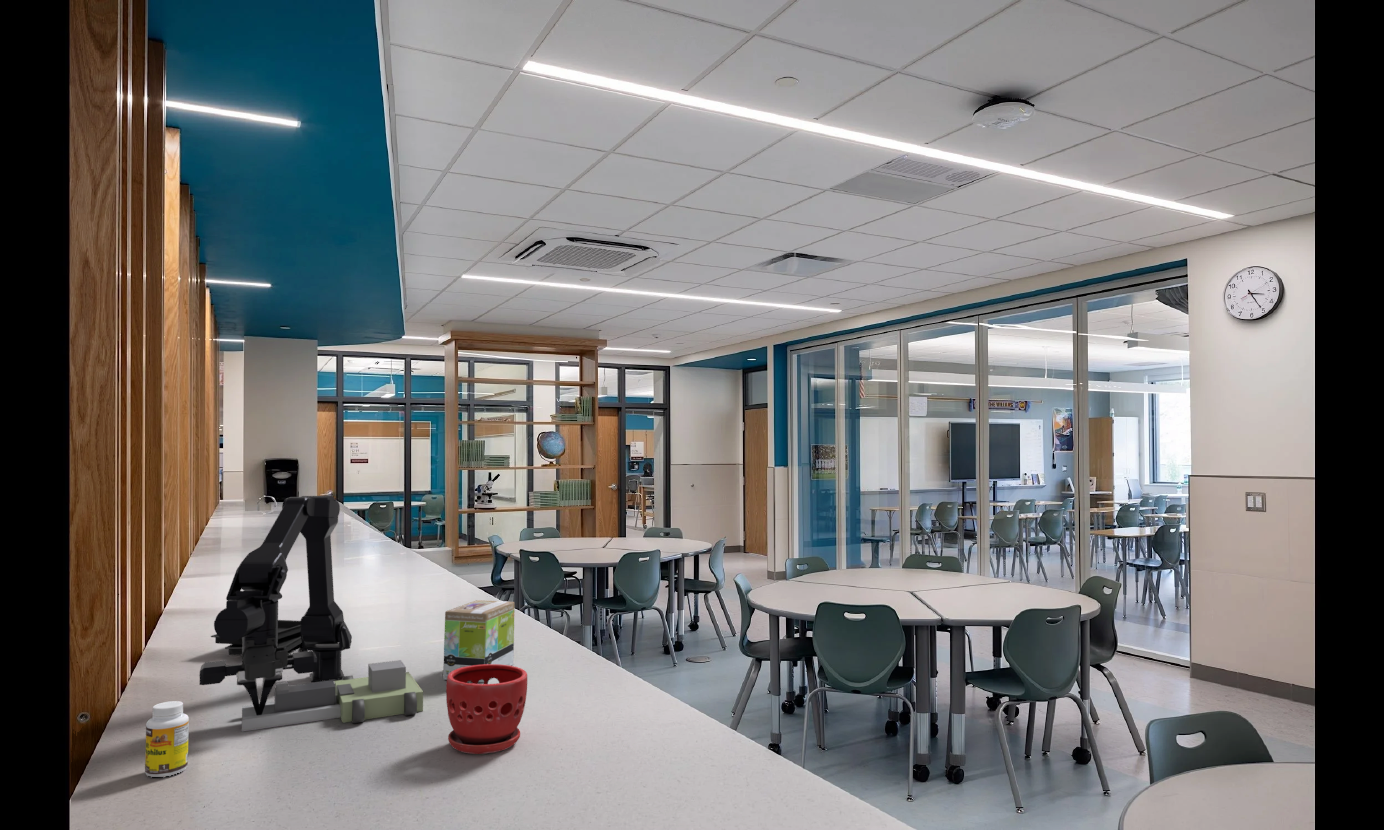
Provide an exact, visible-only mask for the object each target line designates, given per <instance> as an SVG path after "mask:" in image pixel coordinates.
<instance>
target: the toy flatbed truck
mask: <svg viewBox="0 0 1384 830" xmlns="http://www.w3.org/2000/svg"><path fill="white" fill-rule="evenodd" d="M367 668H368V669H367V671H368V672H367V673H368V675H367V676H365V677H364V676H363V677H358V678H356V677H355V678H354V675H353V674H351V675H344V676H343V677H342V679H338V680H334V684H335V687H336V688H335V705H330V706H323V707H316V708H308V709H301V710H294V711H286V712H279V713H274V701H271V702H266V704H265V707H264V710H263V713H262V715H256V712H255V709H254V706H253V704H249V705H242V706H241V732H247V731H255V730H256V731H257V730H261V729H270V728H276V727H283V726H291V725H297V724H304V723H311V722H317V721H318V722H319V721H324V720H325V721H326V720H333V719H338V718H340V720H341V722H342V724H343V723H351V722H352V724H357V723H358V724H359V723H363V722H365V721H366V720H371V719H379V718H384V717H392V716H398V715H404V716H413V715H416V714H417V713H418V712H423V711H424V691H423V689H422V688H421V687H420V686H419V684H418V683H417V681H416V680H415V678H414V677H413V676H412V674H411V673H410V671H407V666H406V665H405V664H404V662H403V661H402V660H401V659H397V660H389V661H380V662H373V663H368V667H367Z"/></svg>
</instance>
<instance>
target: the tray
mask: <svg viewBox="0 0 1384 830" xmlns="http://www.w3.org/2000/svg"><path fill="white" fill-rule="evenodd" d="M300 631H301V620H293V619H292V620H290V619H282V620H281V619H278V647H287V648H288V652H289V651H290V650H292V649H294V648H295V647H298V645H299V646H300V645H302V644H301V643H302V641H301V635H300ZM210 637H211V638H215V644H222V645H227V646H225V647H224V649H225V650H228V655H229V656H242V644H243V637H242V638H240V639H238V640H235V641H226V640H223V639H221V638H220V637H219V636H218V635H217V633H216V634H215V633H214V634H212V635H210ZM304 652H306V651H304ZM289 658H293V653H291V654H288V659H289Z"/></svg>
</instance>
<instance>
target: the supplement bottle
mask: <svg viewBox="0 0 1384 830" xmlns="http://www.w3.org/2000/svg"><path fill="white" fill-rule="evenodd" d="M189 719H190V718H189V715H188V714H186V713H184V703H183V701H179V700H174V701H173V700H172V701H171V700H170V701H163V702H160V703H157V704H155V705H153V706H152V717H150V719H148V721H147V722H146V723H145V724H146V725H145V753H144V754H145V755H144V757H145V758H144V760H145V762H144V772H145V776H147V777H148V776H151V777H150V778H152V777H163V778H165V777H164V776H169V777H172V776H171V775H173V774H176V775H178V774H177V773H179V774H181V773H183V772H184V771H185V770H186V769H187V768H188V765H189V764H188V763H189V726H190V723H189V722H190V720H189ZM182 771H183V772H182ZM180 772H181V773H180ZM173 776H174V775H173Z"/></svg>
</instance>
